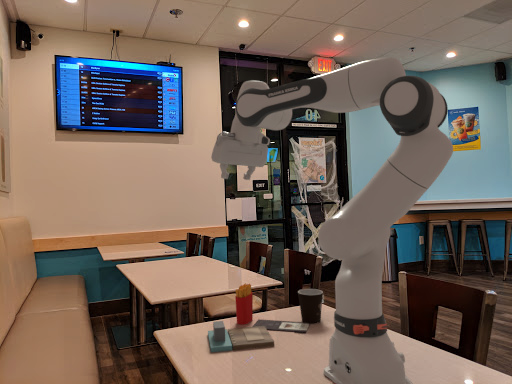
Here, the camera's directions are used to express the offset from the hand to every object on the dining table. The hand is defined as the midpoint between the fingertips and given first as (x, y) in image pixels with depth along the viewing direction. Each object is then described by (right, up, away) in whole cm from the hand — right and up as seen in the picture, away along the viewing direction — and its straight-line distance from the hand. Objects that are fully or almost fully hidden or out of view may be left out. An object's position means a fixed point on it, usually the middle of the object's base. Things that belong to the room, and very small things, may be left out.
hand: (235, 179), depth 119 cm
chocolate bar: (+15, -50, +9) cm, 52 cm away
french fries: (+2, -50, +14) cm, 52 cm away
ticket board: (+4, -49, -3) cm, 49 cm away
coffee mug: (+27, -49, +15) cm, 58 cm away
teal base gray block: (-5, -49, -4) cm, 50 cm away
